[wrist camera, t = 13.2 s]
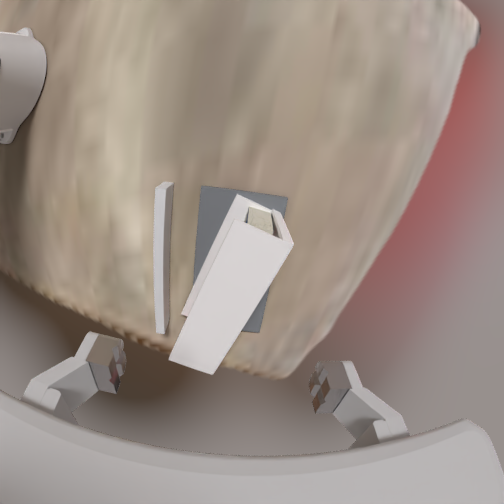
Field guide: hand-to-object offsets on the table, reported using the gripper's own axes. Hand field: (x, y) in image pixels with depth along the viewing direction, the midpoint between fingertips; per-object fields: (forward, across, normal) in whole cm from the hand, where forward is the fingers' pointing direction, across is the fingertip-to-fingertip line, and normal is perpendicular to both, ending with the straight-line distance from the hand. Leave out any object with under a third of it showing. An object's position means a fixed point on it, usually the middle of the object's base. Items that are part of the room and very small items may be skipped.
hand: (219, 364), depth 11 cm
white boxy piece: (+24, 0, +9) cm, 25 cm away
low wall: (+24, +7, +9) cm, 27 cm away
